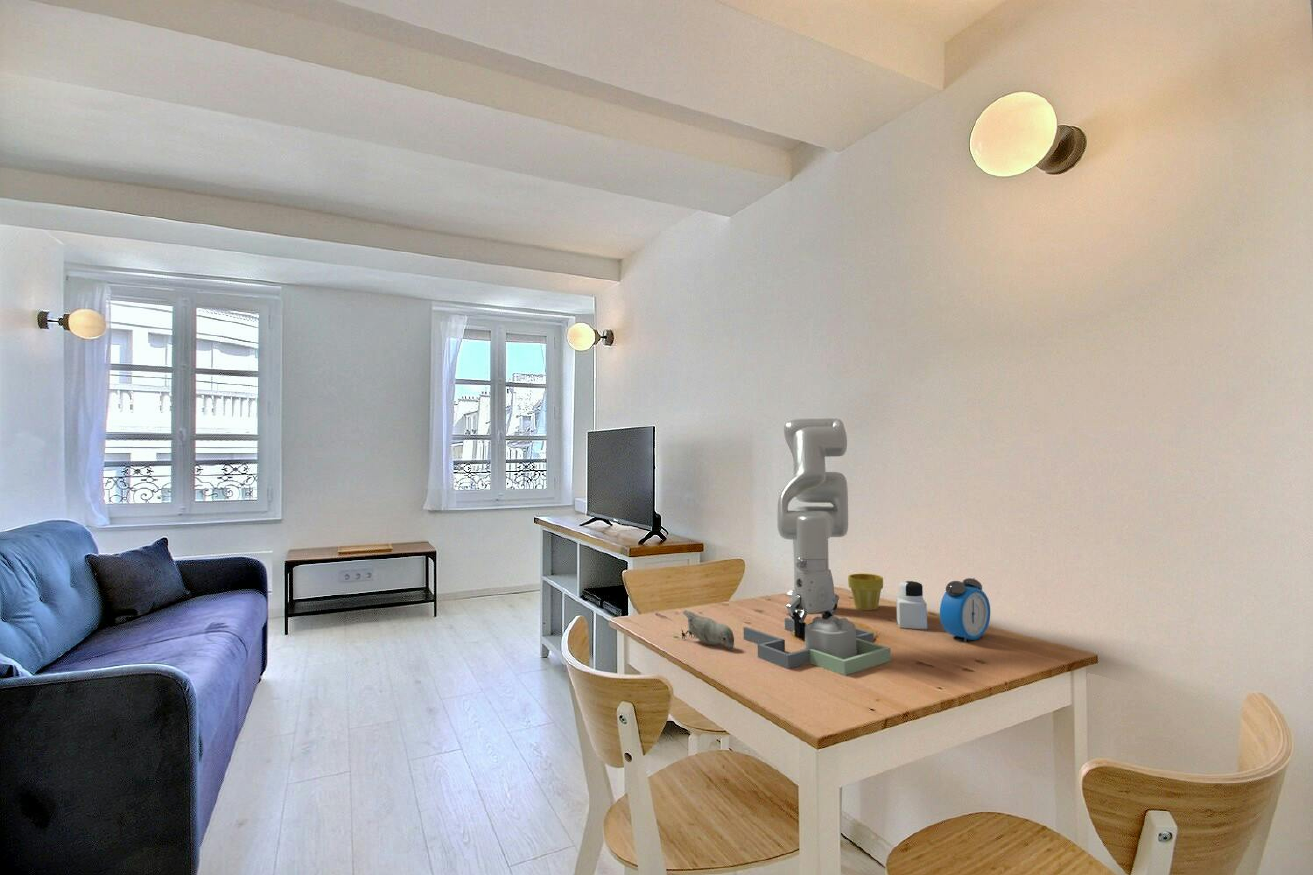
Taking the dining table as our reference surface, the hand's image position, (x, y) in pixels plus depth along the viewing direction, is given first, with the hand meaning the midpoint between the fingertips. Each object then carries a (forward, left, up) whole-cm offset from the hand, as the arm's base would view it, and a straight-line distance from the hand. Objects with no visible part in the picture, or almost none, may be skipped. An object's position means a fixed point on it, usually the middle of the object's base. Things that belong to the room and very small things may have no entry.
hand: (814, 634), depth 154 cm
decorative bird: (-19, -18, -4) cm, 27 cm away
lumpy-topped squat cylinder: (+6, 0, -4) cm, 7 cm away
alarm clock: (+16, +39, -4) cm, 42 cm away
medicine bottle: (+1, +38, -4) cm, 38 cm away
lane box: (0, 0, -4) cm, 4 cm away
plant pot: (-19, +44, -4) cm, 48 cm away
